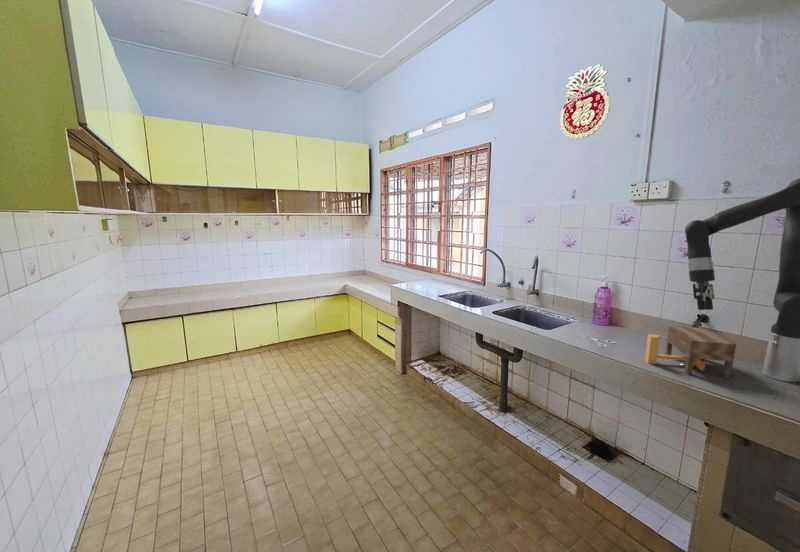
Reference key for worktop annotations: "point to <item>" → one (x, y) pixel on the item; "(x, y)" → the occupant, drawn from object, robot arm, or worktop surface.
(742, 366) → the worktop surface
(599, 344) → the scissors
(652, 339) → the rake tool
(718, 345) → the wooden footstool
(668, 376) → the worktop surface
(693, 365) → the steel token
